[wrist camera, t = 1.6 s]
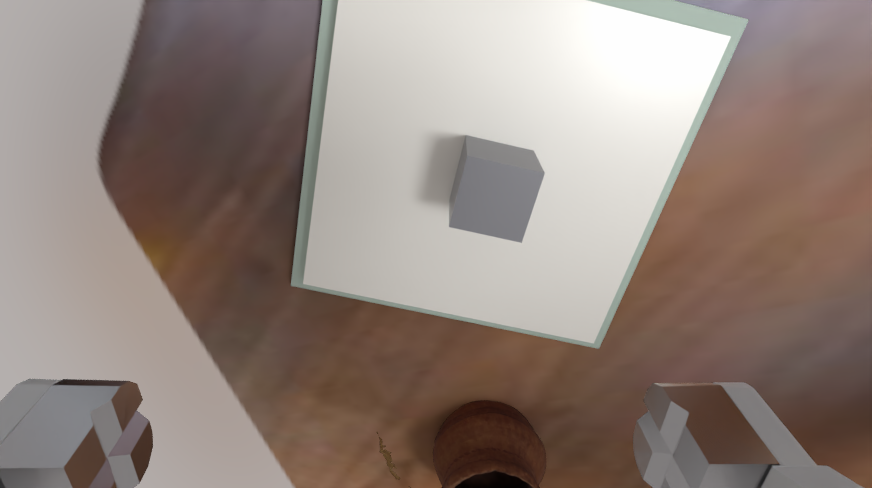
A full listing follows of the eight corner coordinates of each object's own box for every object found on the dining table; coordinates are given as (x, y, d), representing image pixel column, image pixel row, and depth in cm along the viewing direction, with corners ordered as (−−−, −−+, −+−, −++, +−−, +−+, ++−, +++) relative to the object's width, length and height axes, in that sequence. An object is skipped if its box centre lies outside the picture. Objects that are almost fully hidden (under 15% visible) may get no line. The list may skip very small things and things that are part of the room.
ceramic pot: (395, 516, 46) (388, 599, 40) (358, 358, 39) (341, 429, 32) (598, 501, 45) (623, 584, 39) (600, 335, 38) (632, 403, 31)
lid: (721, 35, 27) (774, 44, 23) (590, 334, 36) (609, 383, 32) (349, -59, 26) (327, -69, 21) (306, 276, 35) (285, 319, 30)
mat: (744, 18, 27) (748, 19, 27) (597, 344, 37) (598, 348, 37) (334, -86, 26) (332, -87, 25) (292, 281, 36) (290, 285, 35)
